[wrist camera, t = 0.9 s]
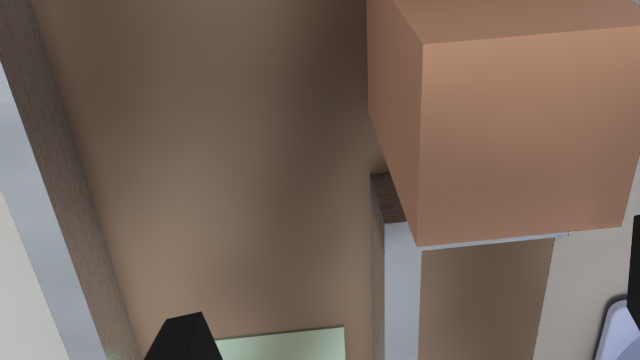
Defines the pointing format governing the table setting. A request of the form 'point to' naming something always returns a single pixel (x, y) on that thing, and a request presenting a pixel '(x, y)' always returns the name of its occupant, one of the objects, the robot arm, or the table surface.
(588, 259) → the table surface
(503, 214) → the block
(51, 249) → the outer rail
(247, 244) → the track board
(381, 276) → the inner rail
